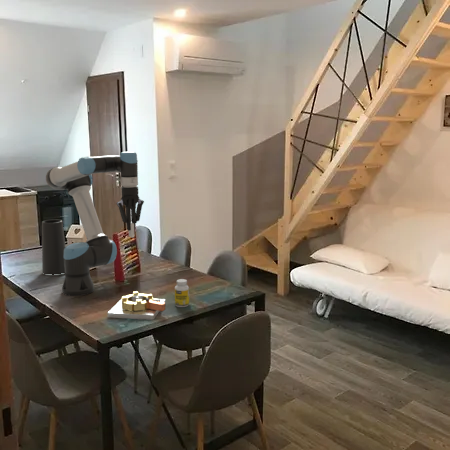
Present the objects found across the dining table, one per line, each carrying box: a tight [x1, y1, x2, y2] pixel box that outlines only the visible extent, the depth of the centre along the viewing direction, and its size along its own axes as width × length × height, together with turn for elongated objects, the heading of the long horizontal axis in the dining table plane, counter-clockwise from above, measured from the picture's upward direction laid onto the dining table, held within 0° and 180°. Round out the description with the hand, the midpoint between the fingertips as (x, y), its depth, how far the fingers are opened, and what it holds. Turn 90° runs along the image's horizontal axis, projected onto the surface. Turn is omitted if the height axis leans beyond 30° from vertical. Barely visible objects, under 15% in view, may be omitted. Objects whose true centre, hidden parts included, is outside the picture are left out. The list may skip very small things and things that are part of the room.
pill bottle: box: [174, 278, 190, 308], centre depth 232 cm, size 6×6×12 cm
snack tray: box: [120, 290, 166, 312], centre depth 224 cm, size 21×13×4 cm, turn 62°
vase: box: [41, 219, 66, 275], centre depth 281 cm, size 14×14×29 cm
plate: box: [107, 295, 166, 321], centre depth 226 cm, size 21×20×6 cm
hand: (131, 236), depth 237 cm, fingers closed
